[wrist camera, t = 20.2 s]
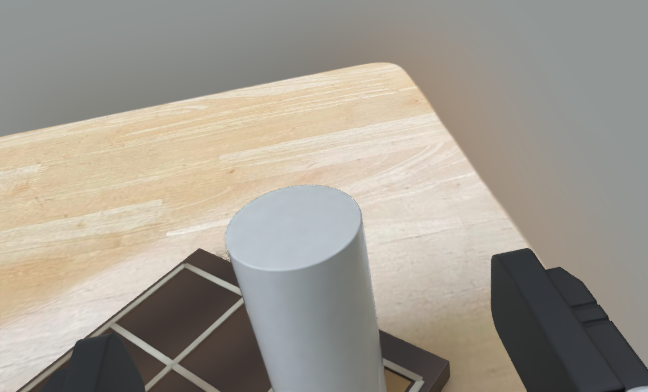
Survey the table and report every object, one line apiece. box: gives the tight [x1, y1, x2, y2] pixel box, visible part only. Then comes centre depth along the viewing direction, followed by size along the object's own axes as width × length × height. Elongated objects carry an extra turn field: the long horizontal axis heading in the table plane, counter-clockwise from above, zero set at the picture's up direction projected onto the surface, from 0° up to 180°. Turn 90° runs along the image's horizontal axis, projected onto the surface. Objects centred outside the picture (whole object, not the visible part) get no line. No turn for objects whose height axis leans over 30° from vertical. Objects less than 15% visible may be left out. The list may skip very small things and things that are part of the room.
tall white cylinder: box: [225, 185, 388, 392], centre depth 20 cm, size 4×4×9 cm
